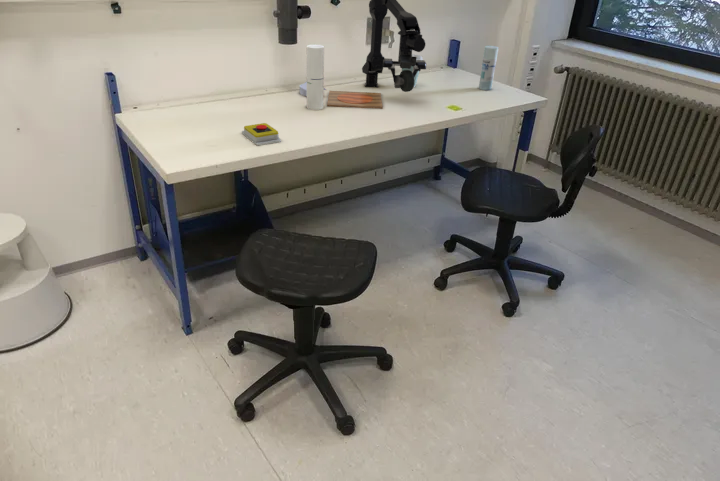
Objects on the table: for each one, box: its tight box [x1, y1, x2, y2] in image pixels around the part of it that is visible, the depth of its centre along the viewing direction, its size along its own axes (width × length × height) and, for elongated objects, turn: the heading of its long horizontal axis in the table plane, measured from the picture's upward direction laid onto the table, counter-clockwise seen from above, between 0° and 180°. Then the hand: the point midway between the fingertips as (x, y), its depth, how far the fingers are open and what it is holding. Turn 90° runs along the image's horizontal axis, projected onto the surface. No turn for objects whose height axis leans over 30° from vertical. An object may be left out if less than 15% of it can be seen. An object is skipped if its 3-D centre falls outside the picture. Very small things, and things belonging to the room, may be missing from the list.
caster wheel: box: [393, 70, 415, 93], centre depth 238 cm, size 6×10×15 cm
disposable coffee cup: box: [401, 53, 424, 88], centre depth 262 cm, size 11×11×15 cm
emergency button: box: [241, 122, 281, 147], centre depth 194 cm, size 9×4×15 cm
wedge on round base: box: [299, 80, 327, 97], centre depth 244 cm, size 9×7×13 cm
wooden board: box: [326, 90, 384, 110], centre depth 240 cm, size 22×24×1 cm
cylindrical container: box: [305, 43, 325, 111], centre depth 223 cm, size 7×7×25 cm
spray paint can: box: [478, 45, 499, 91], centre depth 263 cm, size 6×6×20 cm
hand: (402, 83), depth 239 cm, fingers closed on caster wheel, 7 cm apart
